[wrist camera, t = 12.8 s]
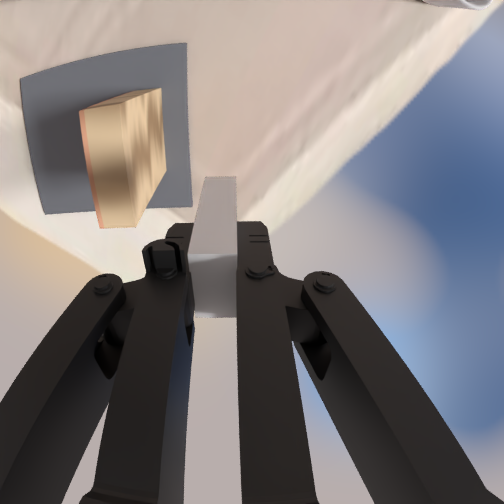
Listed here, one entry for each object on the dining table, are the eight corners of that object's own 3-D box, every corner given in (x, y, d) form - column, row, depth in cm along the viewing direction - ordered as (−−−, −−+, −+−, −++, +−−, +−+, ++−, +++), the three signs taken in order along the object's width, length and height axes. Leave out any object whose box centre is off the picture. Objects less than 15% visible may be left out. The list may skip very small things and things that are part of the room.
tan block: (132, 91, 26) (78, 110, 16) (161, 87, 26) (119, 104, 16) (140, 172, 31) (99, 228, 21) (166, 170, 31) (135, 227, 21)
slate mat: (22, 78, 23) (20, 78, 22) (186, 43, 24) (186, 42, 24) (46, 212, 33) (45, 214, 33) (192, 205, 34) (192, 207, 34)
